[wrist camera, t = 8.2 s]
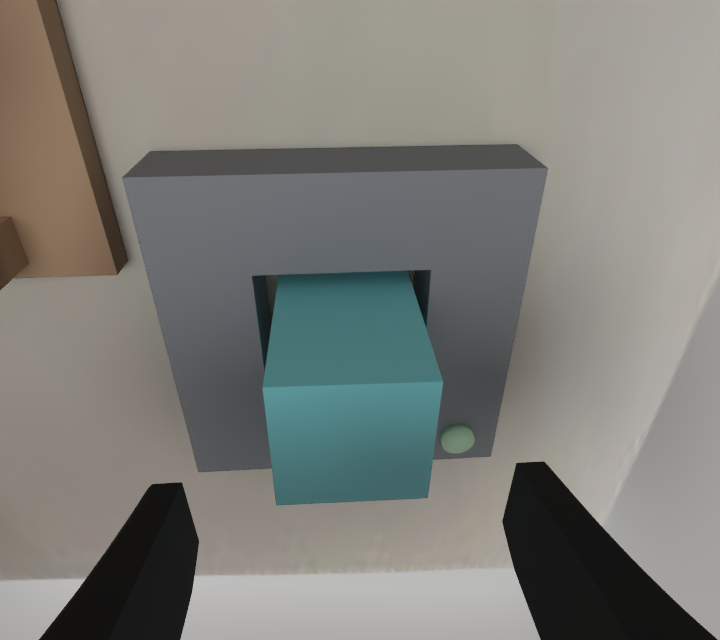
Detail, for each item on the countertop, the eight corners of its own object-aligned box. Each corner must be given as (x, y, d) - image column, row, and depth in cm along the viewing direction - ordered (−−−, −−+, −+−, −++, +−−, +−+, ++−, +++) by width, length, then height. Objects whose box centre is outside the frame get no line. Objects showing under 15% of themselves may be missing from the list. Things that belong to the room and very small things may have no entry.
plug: (289, 348, 19) (276, 505, 13) (281, 250, 17) (262, 387, 11) (394, 345, 19) (427, 497, 13) (400, 249, 17) (443, 381, 11)
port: (210, 423, 21) (197, 478, 19) (149, 151, 15) (118, 180, 13) (473, 411, 21) (492, 462, 19) (516, 144, 15) (552, 171, 13)
